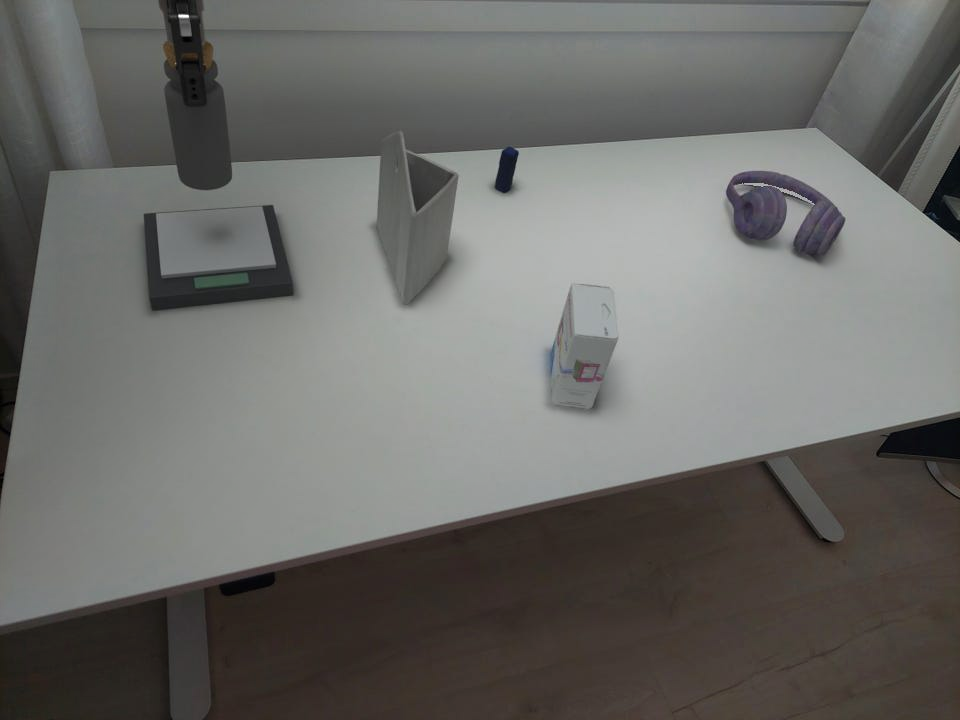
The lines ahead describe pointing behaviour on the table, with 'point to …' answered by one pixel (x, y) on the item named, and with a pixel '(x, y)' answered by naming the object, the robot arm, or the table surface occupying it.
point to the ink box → (583, 345)
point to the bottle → (198, 126)
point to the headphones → (783, 211)
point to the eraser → (506, 169)
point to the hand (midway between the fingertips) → (193, 89)
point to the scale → (215, 257)
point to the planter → (413, 214)
